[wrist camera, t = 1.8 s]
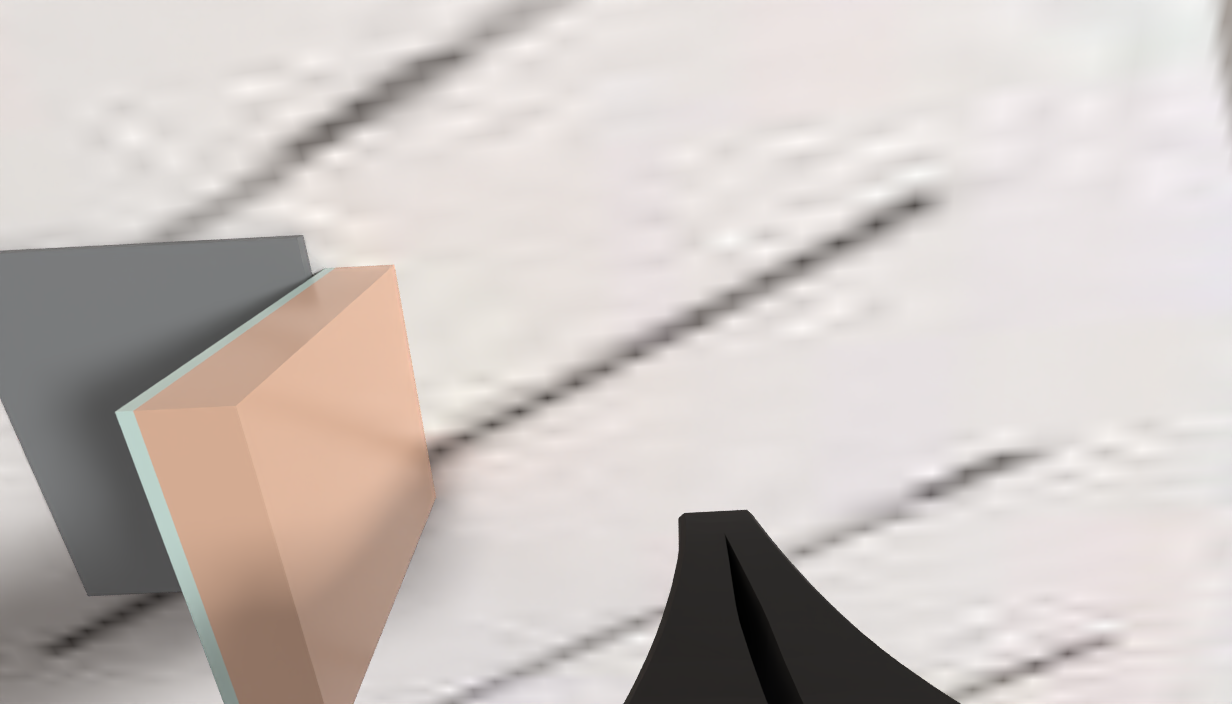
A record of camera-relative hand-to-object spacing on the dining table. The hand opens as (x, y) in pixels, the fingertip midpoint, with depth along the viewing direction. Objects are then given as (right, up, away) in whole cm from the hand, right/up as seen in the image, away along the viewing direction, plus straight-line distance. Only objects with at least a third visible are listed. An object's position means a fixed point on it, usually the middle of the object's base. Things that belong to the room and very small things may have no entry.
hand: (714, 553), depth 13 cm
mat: (-15, +1, +8) cm, 18 cm away
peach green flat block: (-9, +3, +8) cm, 12 cm away
